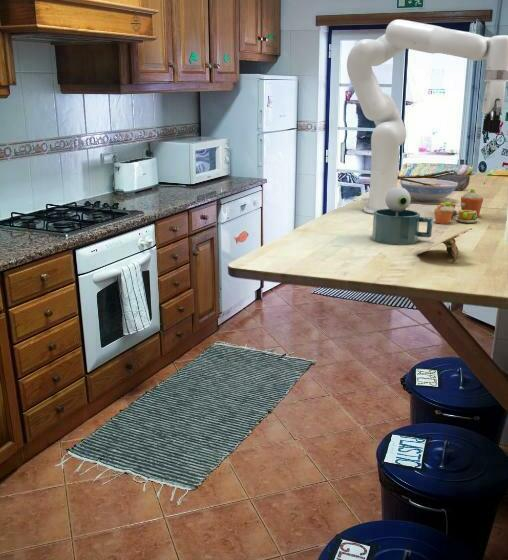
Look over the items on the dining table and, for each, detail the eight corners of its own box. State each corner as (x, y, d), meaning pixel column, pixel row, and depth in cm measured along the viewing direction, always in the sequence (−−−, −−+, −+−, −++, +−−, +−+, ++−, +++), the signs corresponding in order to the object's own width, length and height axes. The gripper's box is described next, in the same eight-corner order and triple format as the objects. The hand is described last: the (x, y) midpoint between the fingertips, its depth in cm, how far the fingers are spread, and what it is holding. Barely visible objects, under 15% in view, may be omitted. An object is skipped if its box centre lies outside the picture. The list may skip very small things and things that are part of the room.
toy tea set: (437, 211, 233) (439, 184, 231) (482, 214, 228) (485, 187, 225) (428, 223, 210) (430, 194, 207) (477, 227, 205) (480, 198, 202)
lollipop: (389, 241, 182) (393, 189, 178) (378, 236, 189) (381, 185, 184) (411, 240, 184) (416, 188, 180) (400, 235, 191) (404, 185, 186)
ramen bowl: (470, 204, 249) (472, 183, 247) (421, 207, 241) (423, 185, 239) (431, 194, 271) (432, 175, 269) (385, 197, 263) (386, 177, 261)
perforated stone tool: (433, 189, 287) (434, 173, 285) (434, 187, 291) (435, 172, 289) (468, 191, 282) (470, 175, 280) (468, 190, 286) (470, 174, 284)
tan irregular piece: (414, 274, 174) (407, 247, 175) (466, 261, 174) (458, 234, 175) (431, 267, 156) (423, 237, 157) (488, 253, 156) (480, 223, 157)
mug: (370, 242, 182) (372, 215, 180) (373, 233, 194) (375, 207, 192) (431, 246, 178) (433, 218, 176) (430, 237, 190) (432, 210, 188)
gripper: (480, 77, 211) (473, 130, 216) (490, 76, 195) (483, 133, 200) (503, 77, 210) (496, 130, 215) (516, 76, 194) (508, 134, 199)
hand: (490, 132), depth 207 cm, fingers open, 9 cm apart
